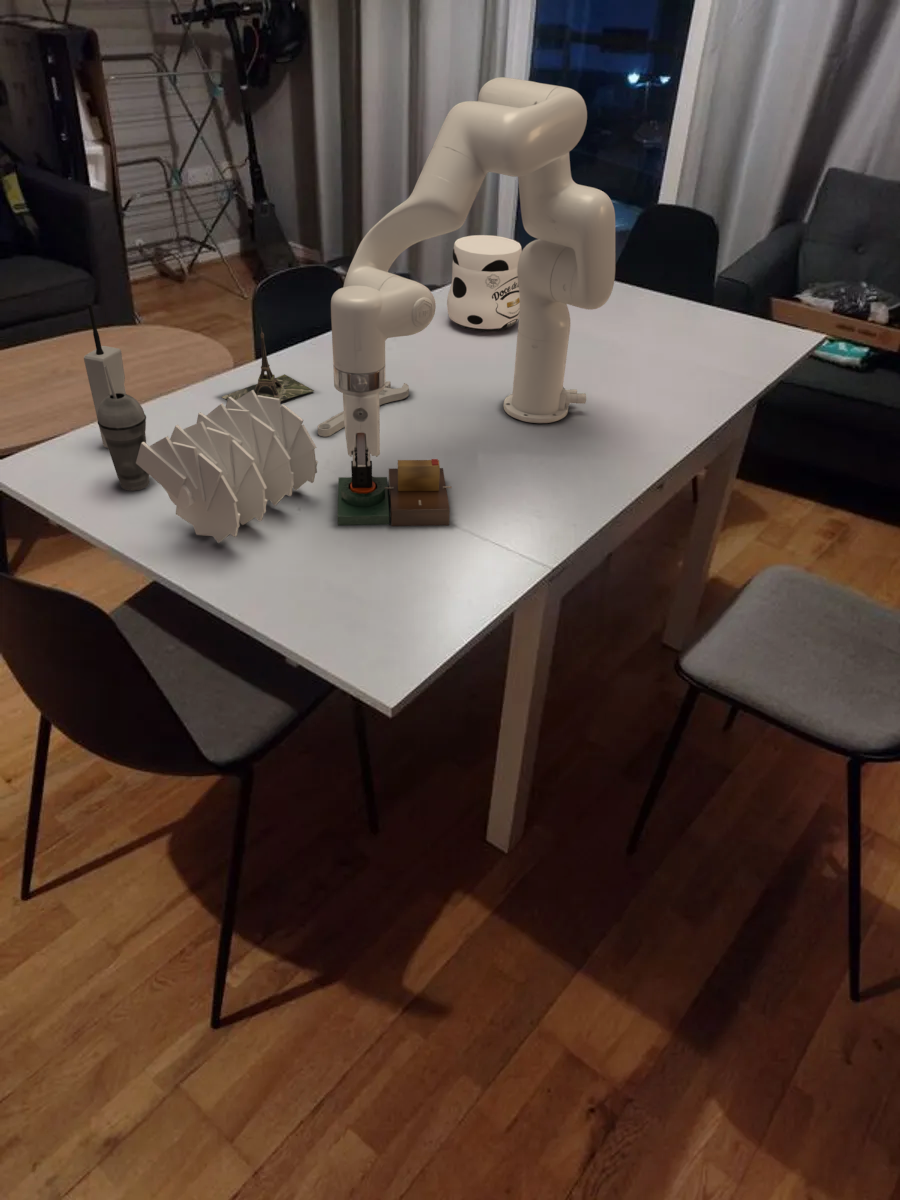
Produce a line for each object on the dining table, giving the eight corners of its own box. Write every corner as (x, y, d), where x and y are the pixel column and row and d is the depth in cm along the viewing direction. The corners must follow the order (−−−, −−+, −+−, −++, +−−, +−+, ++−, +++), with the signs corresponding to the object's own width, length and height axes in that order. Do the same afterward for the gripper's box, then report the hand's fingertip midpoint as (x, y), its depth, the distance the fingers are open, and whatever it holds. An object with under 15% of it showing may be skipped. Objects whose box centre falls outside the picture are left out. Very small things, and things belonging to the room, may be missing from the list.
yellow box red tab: (398, 491, 140) (398, 464, 137) (397, 484, 141) (397, 458, 138) (438, 490, 140) (439, 464, 137) (438, 484, 142) (438, 458, 139)
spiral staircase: (311, 507, 148) (210, 575, 130) (233, 441, 150) (122, 499, 131) (349, 428, 136) (244, 490, 118) (264, 357, 137) (147, 408, 119)
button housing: (338, 486, 146) (338, 467, 144) (387, 485, 147) (386, 467, 145) (337, 525, 137) (336, 506, 135) (389, 524, 138) (389, 505, 135)
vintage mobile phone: (139, 439, 156) (111, 298, 141) (122, 451, 153) (91, 308, 137) (121, 435, 157) (91, 295, 142) (103, 447, 154) (71, 305, 138)
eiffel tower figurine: (251, 414, 166) (244, 346, 158) (221, 397, 171) (212, 329, 163) (314, 392, 174) (310, 326, 166) (284, 376, 180) (278, 311, 172)
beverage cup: (133, 500, 140) (108, 381, 128) (102, 486, 143) (74, 369, 131) (167, 481, 145) (147, 365, 133) (136, 468, 148) (113, 354, 136)
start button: (350, 488, 142) (350, 478, 141) (375, 488, 143) (375, 478, 141) (350, 501, 139) (350, 491, 138) (375, 500, 139) (375, 491, 138)
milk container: (521, 339, 201) (528, 258, 190) (445, 335, 201) (448, 254, 190) (517, 312, 215) (524, 235, 204) (446, 309, 215) (449, 232, 204)
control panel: (383, 484, 147) (383, 467, 145) (447, 483, 148) (448, 466, 146) (386, 526, 137) (385, 509, 135) (454, 525, 138) (455, 508, 136)
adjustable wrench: (326, 439, 160) (325, 430, 158) (300, 428, 163) (300, 419, 161) (414, 394, 175) (414, 386, 174) (389, 385, 178) (389, 377, 177)
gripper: (386, 397, 123) (387, 510, 134) (384, 356, 135) (384, 462, 146) (332, 397, 122) (337, 510, 133) (334, 355, 134) (338, 462, 145)
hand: (362, 485), depth 140 cm, fingers closed
